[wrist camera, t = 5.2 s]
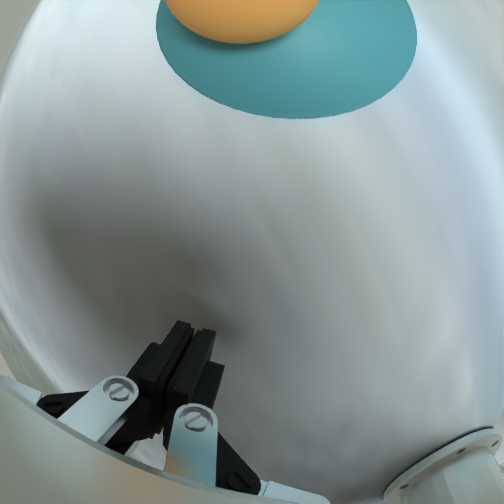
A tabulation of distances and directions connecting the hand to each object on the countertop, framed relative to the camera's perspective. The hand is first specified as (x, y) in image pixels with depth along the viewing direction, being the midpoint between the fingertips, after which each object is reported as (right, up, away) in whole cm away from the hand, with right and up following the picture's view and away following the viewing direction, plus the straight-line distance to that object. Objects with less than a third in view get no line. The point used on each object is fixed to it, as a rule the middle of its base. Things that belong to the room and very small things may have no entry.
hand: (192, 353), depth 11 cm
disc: (+4, +15, -3) cm, 16 cm away
